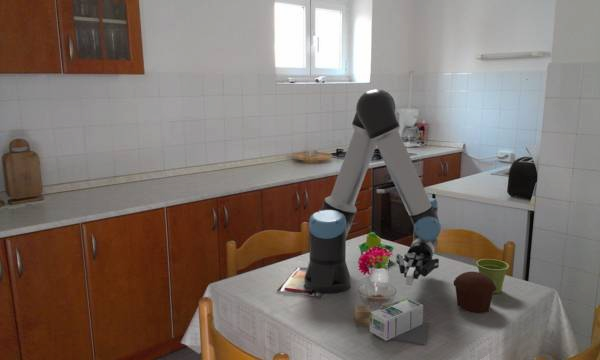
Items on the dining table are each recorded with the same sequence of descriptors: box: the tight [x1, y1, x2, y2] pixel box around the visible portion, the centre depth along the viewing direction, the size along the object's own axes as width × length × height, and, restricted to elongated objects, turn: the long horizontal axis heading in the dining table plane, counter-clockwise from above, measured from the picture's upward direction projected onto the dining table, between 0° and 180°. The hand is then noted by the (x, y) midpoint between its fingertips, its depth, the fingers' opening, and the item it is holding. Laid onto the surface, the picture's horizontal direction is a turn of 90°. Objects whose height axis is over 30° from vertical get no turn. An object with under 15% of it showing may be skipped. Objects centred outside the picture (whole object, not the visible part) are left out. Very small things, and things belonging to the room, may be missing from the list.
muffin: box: [453, 271, 496, 314], centre depth 140 cm, size 12×11×10 cm
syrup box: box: [369, 297, 424, 341], centre depth 127 cm, size 6×6×14 cm
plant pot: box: [476, 258, 510, 294], centre depth 151 cm, size 9×9×9 cm
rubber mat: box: [376, 320, 430, 346], centre depth 127 cm, size 12×12×1 cm
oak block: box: [353, 305, 372, 327], centre depth 131 cm, size 4×4×4 cm
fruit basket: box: [358, 231, 395, 261], centre depth 179 cm, size 11×9×11 cm
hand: (408, 280), depth 132 cm, fingers closed
